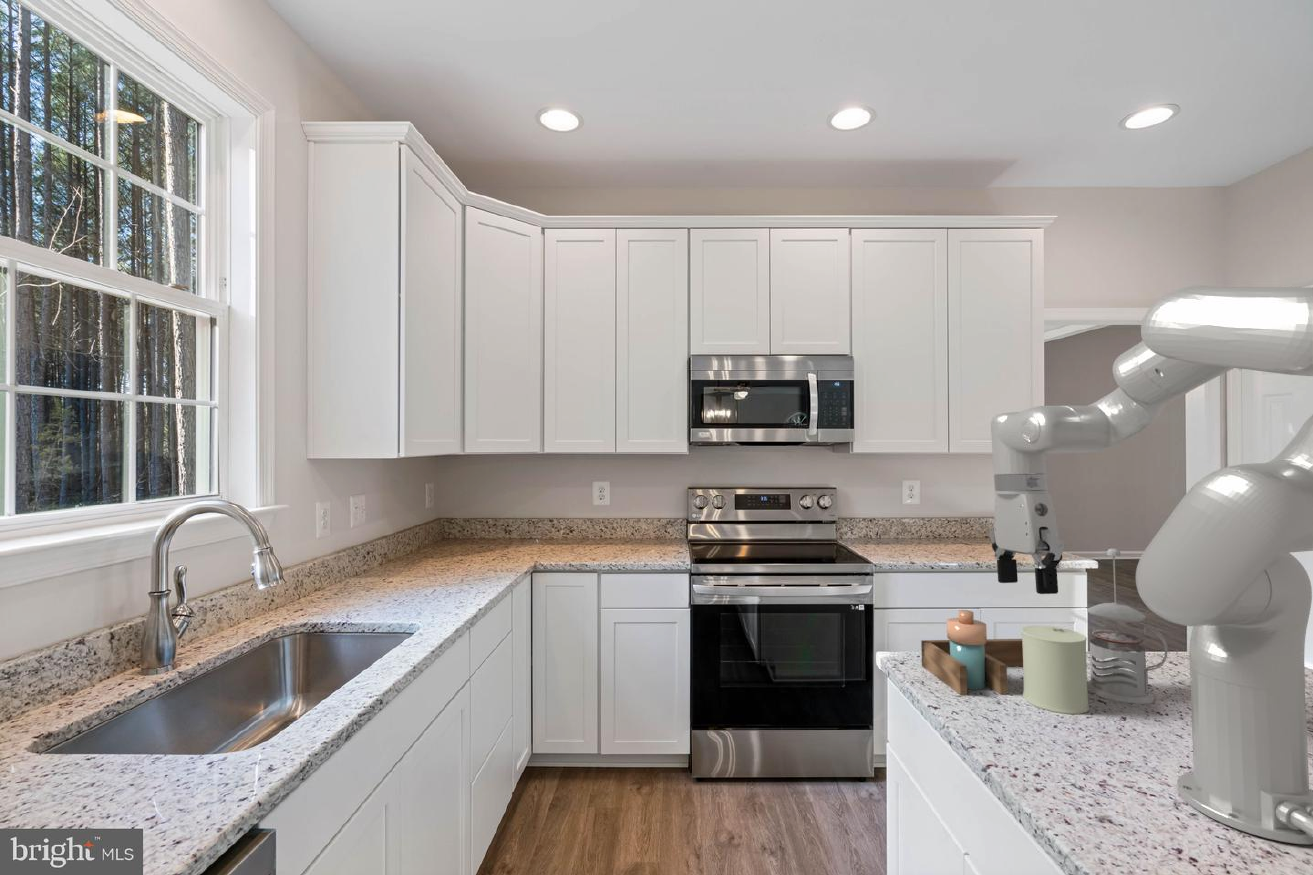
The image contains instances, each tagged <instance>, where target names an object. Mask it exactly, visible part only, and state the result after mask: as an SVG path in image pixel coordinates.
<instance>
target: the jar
mask: <svg viewBox="0 0 1313 875" xmlns="http://www.w3.org/2000/svg"><path fill="white" fill-rule="evenodd" d="M950 656H952V657H954V658H955V659H957V660H958V661H960V662H961V663H963V664H964V665H966V667H967V690H976V691H977V690H983V689H985V688H986V686H987V685H986V684H985V649H984V644H982V645H968V644H961V643H957V642H954V641H951V640H950Z"/></svg>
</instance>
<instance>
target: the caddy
mask: <svg viewBox="0 0 1313 875" xmlns="http://www.w3.org/2000/svg"><path fill="white" fill-rule="evenodd" d="M920 643H921V646H920V647H921V648H920V649H921V667H923V668H924V669H925V670H927V671H928V672H929V673H930V674H932V675H933V676H934V677H936V678H937V679H939V681H941V682H942V683H944V684H945V685H946V686H947V687H949V688H950V689H952V690H953V691H954V692H956V693H957V694H958V695H959V696H967V695H968V689H967V667H966V665H964V664H963V663H961V662H960V661H958V660H957V659H955V658H954V657H952V656H950V640H949V639H940V640H939V639H937V640H936V639H935V640H934V639H931V640H925V639H924V640H923V639H922V640H921V641H920ZM984 649H985V685H986V686H988V688H990V689H992V690H993V691H995V692H996V693H998V694H1000V695H1008V667H1009V668H1010V667H1011V668H1012V667H1015V666H1018V667H1023V644H1022V638H993V639H992V638H990V639H988V638H987V643H986V644H984Z"/></svg>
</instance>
